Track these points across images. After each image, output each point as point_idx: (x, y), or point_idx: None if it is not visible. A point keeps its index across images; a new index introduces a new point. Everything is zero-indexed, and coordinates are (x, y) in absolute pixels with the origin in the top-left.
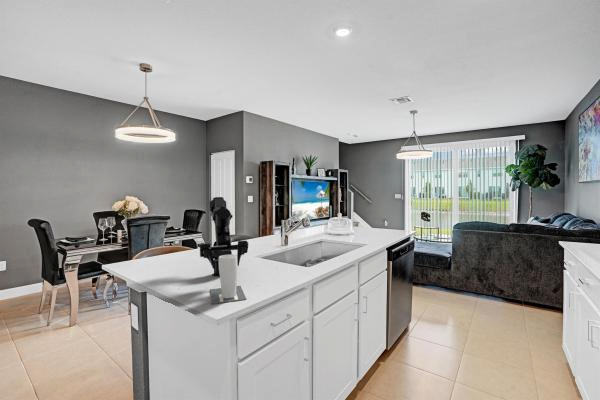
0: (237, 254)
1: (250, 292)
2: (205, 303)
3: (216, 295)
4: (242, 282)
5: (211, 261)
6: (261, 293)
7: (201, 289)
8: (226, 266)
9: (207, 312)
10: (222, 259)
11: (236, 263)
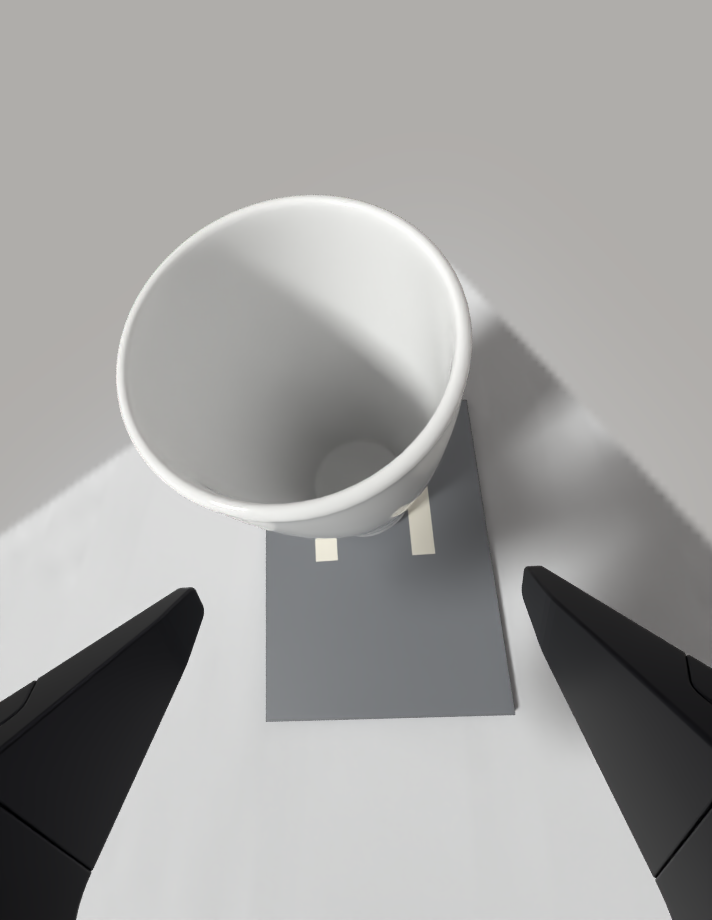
0: (48, 884)
1: (223, 542)
2: (507, 430)
3: (448, 538)
4: (236, 839)
5: (615, 616)
6: (165, 500)
7: (595, 767)
8: (345, 287)
9: (478, 305)
10: (392, 223)
11: (207, 340)
